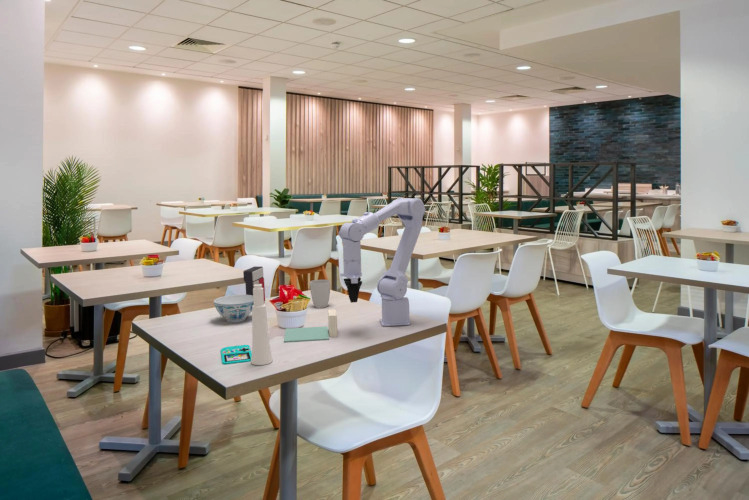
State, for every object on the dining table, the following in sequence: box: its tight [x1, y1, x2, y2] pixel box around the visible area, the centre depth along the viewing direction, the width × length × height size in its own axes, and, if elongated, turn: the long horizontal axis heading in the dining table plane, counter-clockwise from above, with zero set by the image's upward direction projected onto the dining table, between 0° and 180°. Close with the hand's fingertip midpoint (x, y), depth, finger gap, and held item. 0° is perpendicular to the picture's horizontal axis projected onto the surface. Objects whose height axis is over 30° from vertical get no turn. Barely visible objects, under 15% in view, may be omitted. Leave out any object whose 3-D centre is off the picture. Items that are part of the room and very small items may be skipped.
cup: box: [309, 279, 331, 309], centre depth 214 cm, size 8×8×10 cm
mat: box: [283, 325, 330, 343], centre depth 177 cm, size 14×14×1 cm
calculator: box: [243, 266, 266, 303], centre depth 219 cm, size 11×4×15 cm, turn 168°
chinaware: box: [213, 294, 254, 323], centre depth 197 cm, size 15×15×8 cm
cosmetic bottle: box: [250, 284, 274, 366], centre depth 150 cm, size 6×6×22 cm
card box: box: [327, 309, 338, 338], centre depth 178 cm, size 3×8×7 cm, turn 7°
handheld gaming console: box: [220, 344, 252, 366], centre depth 158 cm, size 8×1×15 cm
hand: (353, 301), depth 177 cm, fingers open, 3 cm apart
